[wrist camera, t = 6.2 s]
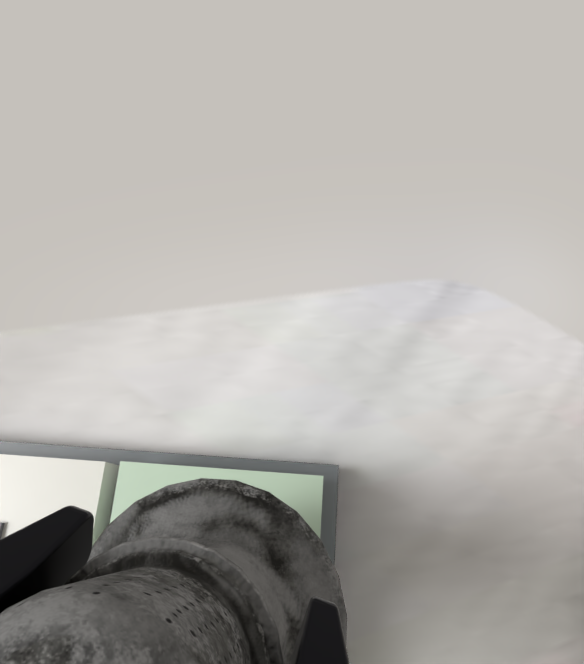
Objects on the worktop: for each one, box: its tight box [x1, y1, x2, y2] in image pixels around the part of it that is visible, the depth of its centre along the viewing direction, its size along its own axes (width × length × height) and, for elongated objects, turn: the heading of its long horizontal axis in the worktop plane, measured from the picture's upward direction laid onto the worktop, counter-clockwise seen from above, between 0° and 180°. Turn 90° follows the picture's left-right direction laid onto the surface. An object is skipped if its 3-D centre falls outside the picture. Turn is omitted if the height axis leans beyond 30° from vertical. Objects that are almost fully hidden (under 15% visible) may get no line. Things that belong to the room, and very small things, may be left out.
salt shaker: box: [0, 478, 347, 664], centre depth 9 cm, size 6×6×12 cm
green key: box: [110, 461, 323, 538], centre depth 19 cm, size 7×7×3 cm
